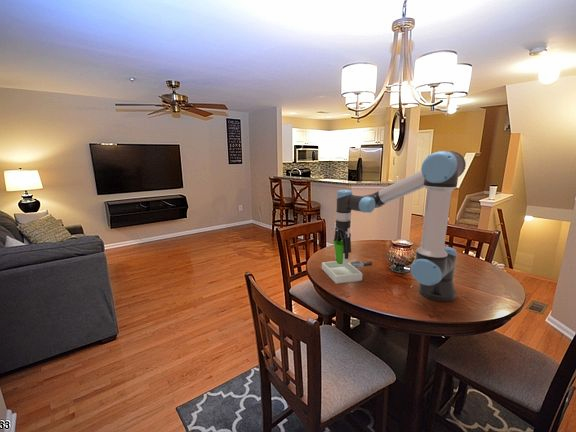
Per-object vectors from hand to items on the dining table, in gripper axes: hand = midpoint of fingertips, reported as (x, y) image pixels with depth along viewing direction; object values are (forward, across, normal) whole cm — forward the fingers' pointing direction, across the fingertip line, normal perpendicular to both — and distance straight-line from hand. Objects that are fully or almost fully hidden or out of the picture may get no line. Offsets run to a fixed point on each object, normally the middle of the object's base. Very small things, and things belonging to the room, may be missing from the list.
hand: (341, 260), depth 152 cm
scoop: (+8, +9, -18) cm, 21 cm away
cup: (+1, 0, 0) cm, 1 cm away
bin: (+8, 0, 0) cm, 8 cm away
